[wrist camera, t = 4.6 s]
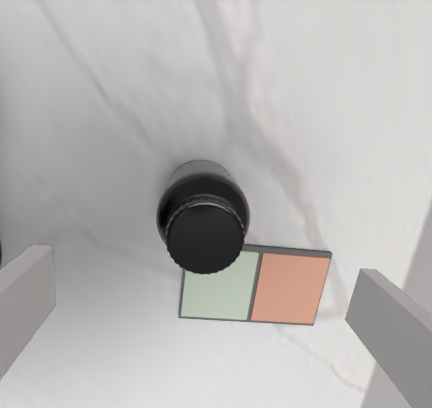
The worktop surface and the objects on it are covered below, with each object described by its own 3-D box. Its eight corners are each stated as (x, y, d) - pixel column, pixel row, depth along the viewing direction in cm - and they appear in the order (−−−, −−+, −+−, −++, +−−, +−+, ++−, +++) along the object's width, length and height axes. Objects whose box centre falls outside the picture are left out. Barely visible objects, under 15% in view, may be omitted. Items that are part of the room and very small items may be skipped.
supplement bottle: (245, 207, 29) (278, 265, 17) (185, 234, 29) (179, 308, 18) (218, 146, 27) (235, 165, 15) (154, 175, 27) (124, 215, 16)
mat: (178, 315, 32) (178, 319, 31) (186, 239, 29) (186, 242, 28) (311, 322, 33) (314, 327, 33) (330, 251, 31) (333, 254, 30)
